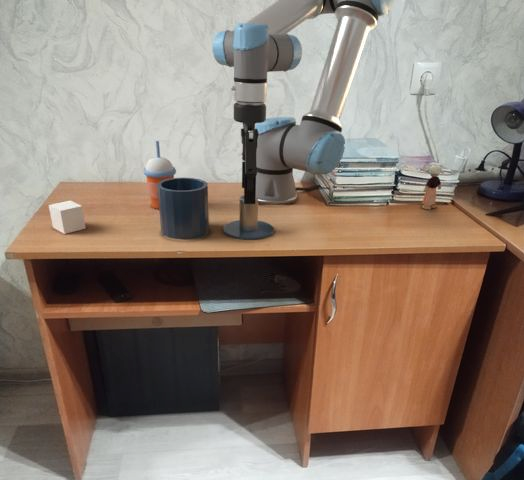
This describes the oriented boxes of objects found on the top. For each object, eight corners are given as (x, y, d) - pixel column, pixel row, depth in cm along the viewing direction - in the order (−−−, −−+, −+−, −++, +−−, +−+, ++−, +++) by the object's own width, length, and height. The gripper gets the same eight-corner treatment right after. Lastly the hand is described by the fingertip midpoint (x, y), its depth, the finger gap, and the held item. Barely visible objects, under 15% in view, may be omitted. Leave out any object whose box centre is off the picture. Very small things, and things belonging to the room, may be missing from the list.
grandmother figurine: (427, 203, 161) (436, 161, 154) (439, 206, 159) (448, 163, 152) (415, 208, 156) (424, 165, 149) (427, 212, 154) (436, 168, 147)
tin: (209, 224, 141) (207, 177, 134) (208, 241, 130) (207, 191, 123) (163, 224, 140) (160, 177, 133) (159, 241, 129) (155, 191, 123)
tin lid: (271, 224, 142) (272, 190, 137) (275, 242, 131) (277, 206, 126) (223, 223, 141) (222, 189, 136) (223, 242, 130) (222, 205, 125)
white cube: (74, 222, 139) (70, 200, 136) (85, 228, 136) (82, 205, 132) (52, 227, 135) (48, 205, 132) (64, 234, 132) (60, 210, 129)
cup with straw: (171, 212, 148) (167, 145, 138) (141, 209, 149) (135, 143, 140) (182, 202, 155) (178, 139, 146) (153, 200, 157) (148, 136, 147)
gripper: (232, 95, 129) (232, 181, 141) (235, 110, 108) (234, 210, 120) (262, 95, 130) (259, 182, 141) (270, 111, 109) (267, 211, 120)
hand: (248, 195), depth 131 cm, fingers open, 13 cm apart
